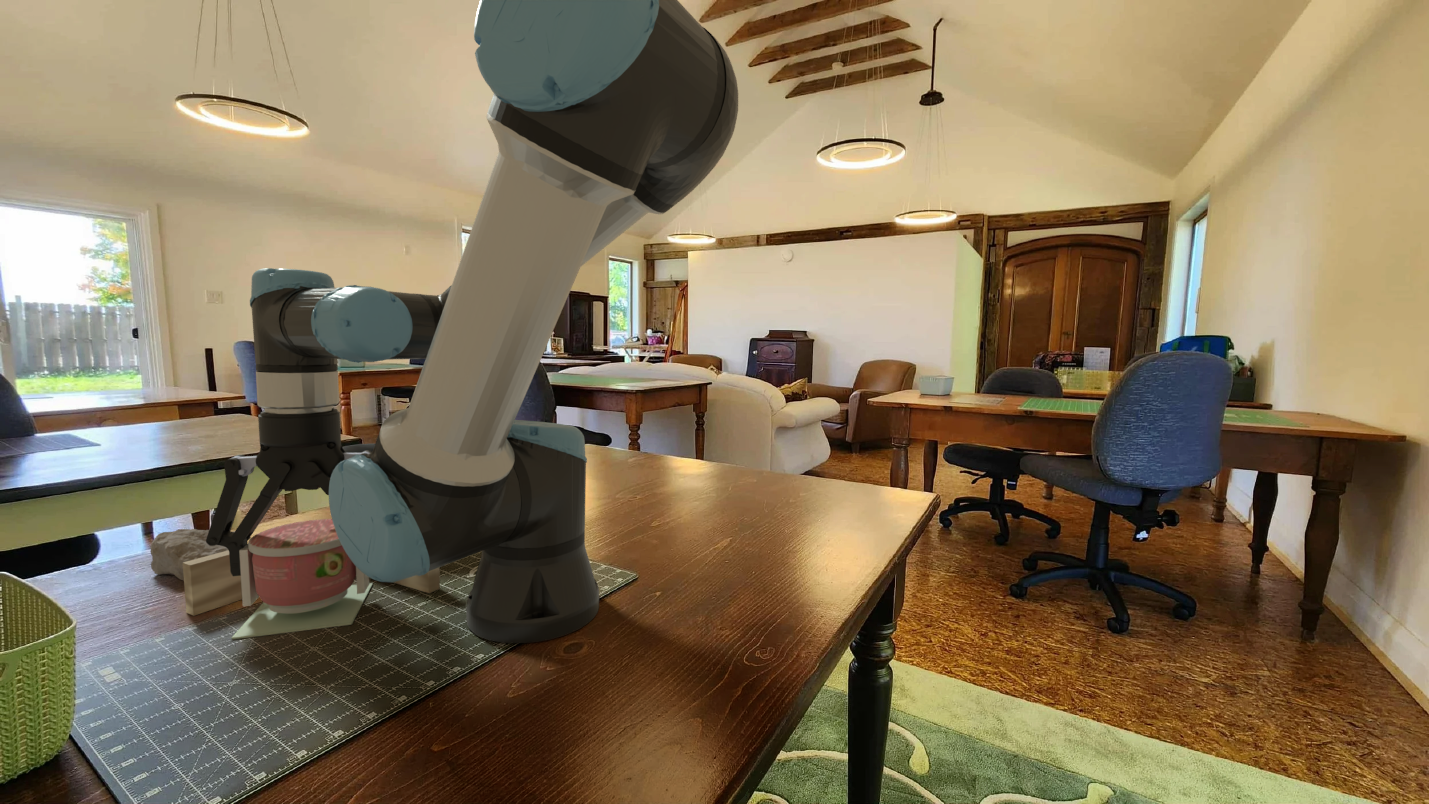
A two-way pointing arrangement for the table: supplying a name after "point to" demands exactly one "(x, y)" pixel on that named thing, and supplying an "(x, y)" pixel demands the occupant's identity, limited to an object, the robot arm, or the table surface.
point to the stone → (180, 550)
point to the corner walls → (217, 586)
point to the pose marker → (303, 617)
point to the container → (300, 566)
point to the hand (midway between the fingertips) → (309, 594)
